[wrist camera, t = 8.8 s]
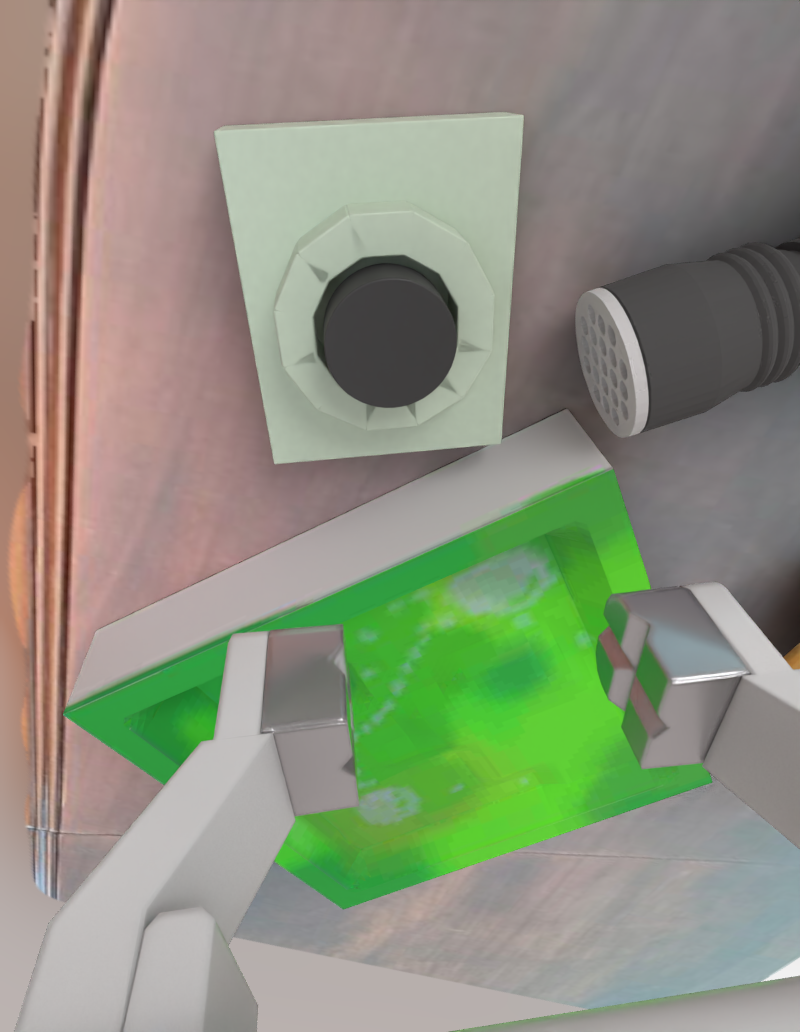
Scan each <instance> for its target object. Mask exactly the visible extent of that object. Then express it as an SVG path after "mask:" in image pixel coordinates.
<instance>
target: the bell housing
mask: <svg viewBox="0 0 800 1032" xmlns="http://www.w3.org/2000/svg"><path fill="white" fill-rule="evenodd" d="M523 125H524V116H523V115H519V114H513V113H508V112H492V113H472V114H451V115H431V116H411V117H390V118H370V119H350V120H329V121H309V122H289V123H269V124H248V125H228V126H223V127H221V128H219V129H217V130H215V131H214V137H215V142H216V148H217V153H218V159H219V164H220V170H221V175H222V181H223V186H224V192H225V197H226V203H227V208H228V214H229V219H230V225H231V230H232V236H233V241H234V247H235V252H236V258H237V263H238V268H239V274H240V279H241V285H242V290H243V296H244V301H245V307H246V312H247V318H248V323H249V329H250V334H251V340H252V345H253V351H254V356H255V362H256V367H257V373H258V378H259V384H260V389H261V395H262V400H263V406H264V411H265V416H266V422H267V427H268V433H269V438H270V444H271V449H272V455H273V460H274V464H283V463H295V462H306V461H317V460H328V459H340V458H351V457H362V456H373V455H384V454H396V453H407V452H418V451H429V450H441V449H452V448H463V447H474V446H486V445H497V444H501V439H502V425H503V411H504V397H505V382H506V368H507V354H508V339H509V325H510V311H511V296H512V282H513V268H514V254H515V239H516V225H517V211H518V196H519V182H520V168H521V153H522V139H523ZM381 263H393V264H400V265H403V266H407V267H410V268H412V269H414V270H416V271H418V272H419V273H421V274H423V275H424V276H425V277H426V278H427V279H429V280H430V281H431V283H432V284H433V285H434V286H435V287H436V289H437V290H438V292H439V293H440V295H441V297H442V298H443V300H444V302H445V303H446V305H447V307H448V309H449V311H450V313H451V315H452V317H453V320H454V323H455V327H456V332H457V348H456V354H455V358H454V361H453V364H452V367H451V369H450V371H449V373H448V374H447V376H446V377H445V379H444V380H443V382H442V383H441V384H440V385H439V386H438V387H437V388H436V389H435V390H434V391H433V392H432V393H430V394H429V395H428V396H426V397H425V398H423V399H421V400H419V401H417V402H415V403H412V404H410V405H406V406H403V407H396V408H382V407H375V406H371V405H368V404H365V403H362V402H360V401H358V400H356V399H354V398H353V397H351V396H350V395H348V394H347V393H346V392H345V391H344V390H343V389H342V388H341V387H340V386H339V385H338V384H337V382H336V381H335V379H334V378H333V376H332V374H331V372H330V370H329V368H328V365H327V362H326V358H325V353H324V330H323V323H324V315H325V311H326V307H327V304H328V302H329V300H330V298H331V296H332V294H333V292H334V291H335V290H336V288H337V287H338V286H339V285H340V284H341V283H342V281H343V280H345V279H346V278H347V277H348V276H349V275H351V274H352V273H354V272H356V271H357V270H360V269H362V268H364V267H367V266H370V265H374V264H381Z"/></svg>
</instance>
